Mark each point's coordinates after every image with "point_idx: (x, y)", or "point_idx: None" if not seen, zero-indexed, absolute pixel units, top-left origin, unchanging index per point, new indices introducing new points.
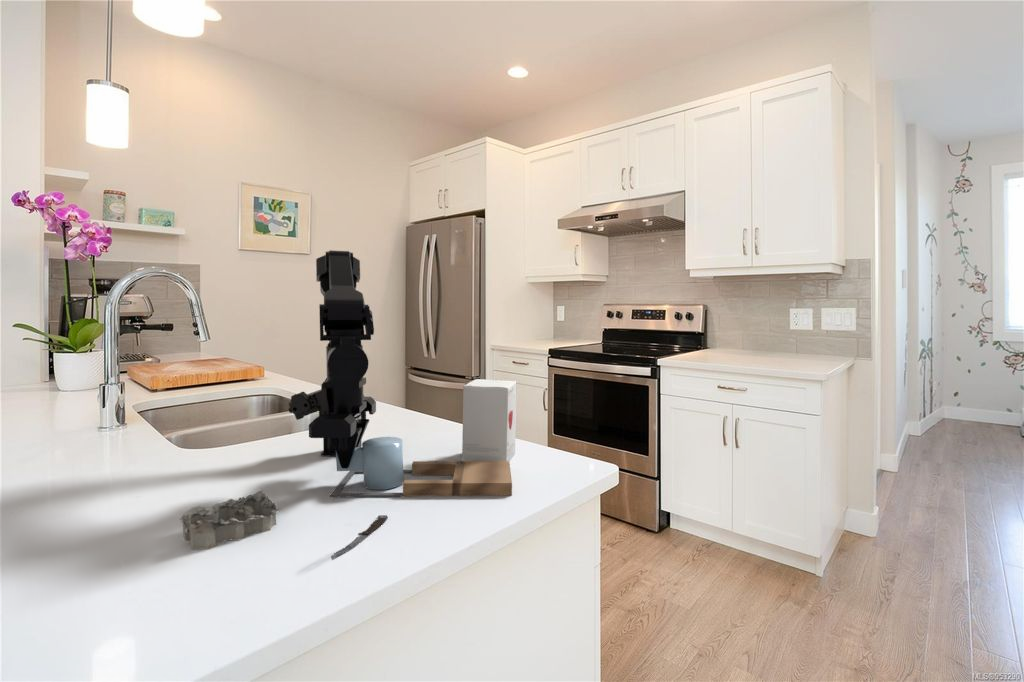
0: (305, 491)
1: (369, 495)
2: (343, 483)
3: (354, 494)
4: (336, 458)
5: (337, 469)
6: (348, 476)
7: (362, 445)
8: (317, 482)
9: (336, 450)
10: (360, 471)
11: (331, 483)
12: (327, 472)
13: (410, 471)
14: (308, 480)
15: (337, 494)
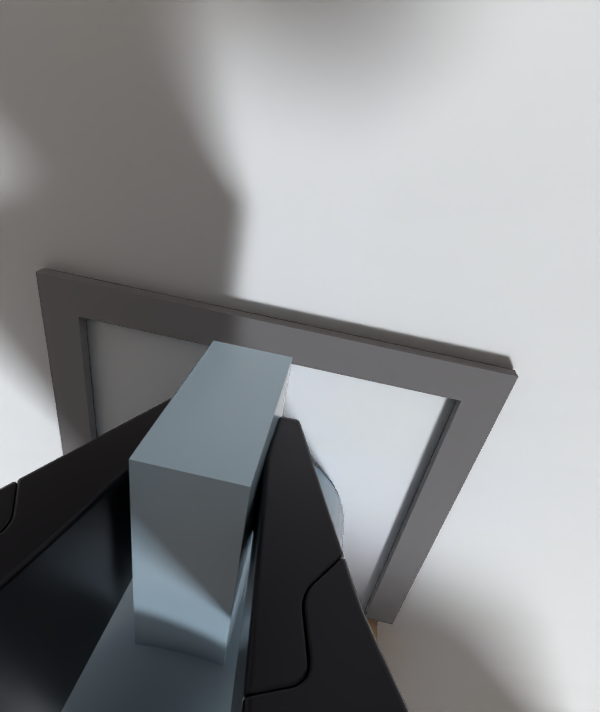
0: (136, 72)
1: (65, 451)
2: (233, 339)
3: (62, 395)
4: (171, 404)
5: (206, 353)
6: (368, 365)
7: (79, 699)
8: (330, 143)
9: (10, 488)
10: (450, 431)
11: (288, 256)
12: (577, 199)
13: (368, 615)
14: (404, 42)
15: (51, 314)
